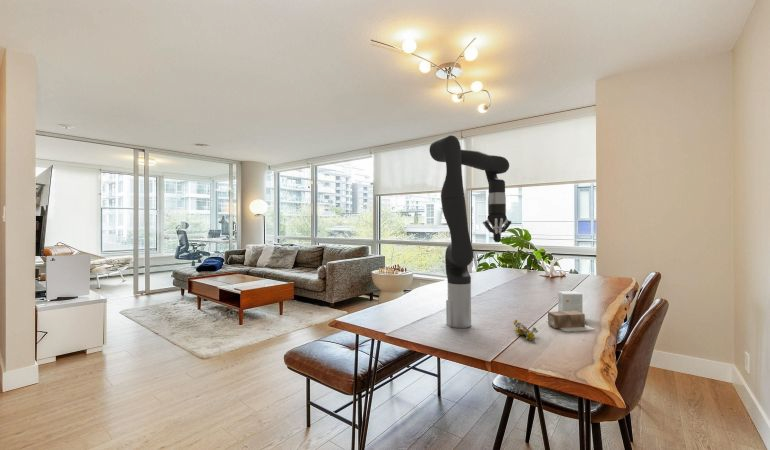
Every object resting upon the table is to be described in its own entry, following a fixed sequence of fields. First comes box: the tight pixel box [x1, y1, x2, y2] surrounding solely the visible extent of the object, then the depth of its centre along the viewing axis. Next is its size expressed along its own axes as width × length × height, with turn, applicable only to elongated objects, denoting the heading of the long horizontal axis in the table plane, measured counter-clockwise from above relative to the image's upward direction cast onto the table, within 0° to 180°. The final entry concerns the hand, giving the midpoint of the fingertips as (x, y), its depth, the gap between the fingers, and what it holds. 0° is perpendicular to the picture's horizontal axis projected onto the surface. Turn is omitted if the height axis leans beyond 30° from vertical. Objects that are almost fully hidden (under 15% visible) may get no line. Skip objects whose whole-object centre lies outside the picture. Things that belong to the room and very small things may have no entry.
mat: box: [545, 319, 596, 332], centre depth 140 cm, size 12×13×1 cm
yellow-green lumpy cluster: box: [513, 319, 539, 341], centre depth 131 cm, size 5×5×15 cm
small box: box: [557, 290, 584, 314], centre depth 151 cm, size 8×6×10 cm
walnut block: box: [547, 311, 586, 329], centre depth 139 cm, size 5×5×12 cm
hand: (497, 241), depth 158 cm, fingers closed
